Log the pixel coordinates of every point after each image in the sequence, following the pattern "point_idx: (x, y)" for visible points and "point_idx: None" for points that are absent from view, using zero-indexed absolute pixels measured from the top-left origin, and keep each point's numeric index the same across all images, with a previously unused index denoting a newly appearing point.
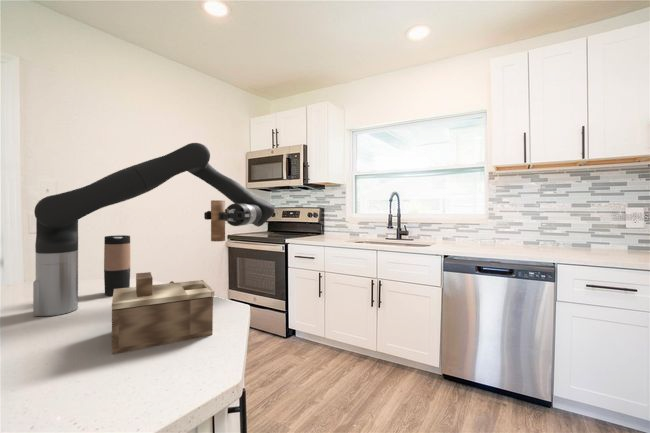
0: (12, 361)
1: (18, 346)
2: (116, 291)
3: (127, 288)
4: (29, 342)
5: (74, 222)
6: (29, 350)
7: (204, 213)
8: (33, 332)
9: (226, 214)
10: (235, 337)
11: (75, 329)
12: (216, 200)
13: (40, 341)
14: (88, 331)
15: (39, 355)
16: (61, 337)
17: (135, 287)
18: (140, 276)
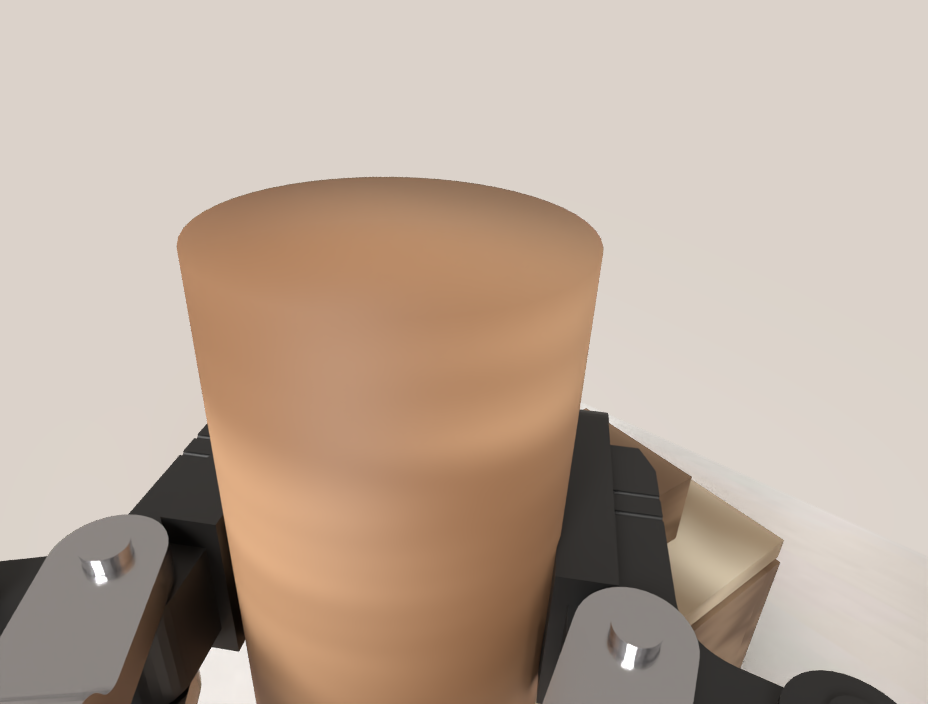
0: (770, 493)
1: (880, 552)
2: (729, 512)
3: (736, 552)
4: (891, 574)
5: None
6: (814, 536)
7: (636, 452)
8: None
9: (192, 457)
10: (219, 657)
11: (907, 677)
12: (382, 177)
13: (871, 582)
14: (832, 664)
15: (749, 517)
16: (851, 611)
17: (720, 570)
18: (612, 436)
